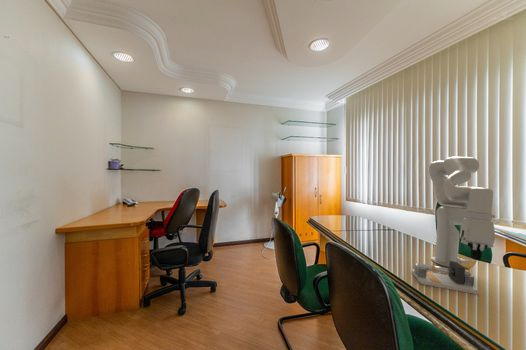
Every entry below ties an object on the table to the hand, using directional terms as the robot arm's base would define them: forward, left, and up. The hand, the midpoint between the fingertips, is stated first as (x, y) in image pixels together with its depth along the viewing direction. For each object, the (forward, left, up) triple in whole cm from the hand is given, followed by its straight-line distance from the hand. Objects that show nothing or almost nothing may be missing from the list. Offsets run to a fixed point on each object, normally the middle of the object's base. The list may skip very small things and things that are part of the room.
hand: (475, 258), depth 93 cm
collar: (+6, -1, -11) cm, 12 cm away
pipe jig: (+11, -1, -13) cm, 17 cm away
